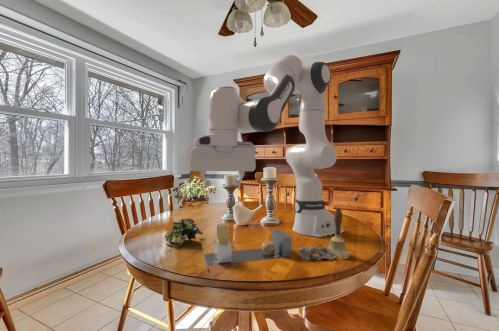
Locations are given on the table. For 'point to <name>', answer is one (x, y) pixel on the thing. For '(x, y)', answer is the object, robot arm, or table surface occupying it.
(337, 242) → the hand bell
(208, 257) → the press base
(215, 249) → the block
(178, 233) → the passion flower
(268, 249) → the hazelnut
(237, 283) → the table surface
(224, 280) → the table surface
